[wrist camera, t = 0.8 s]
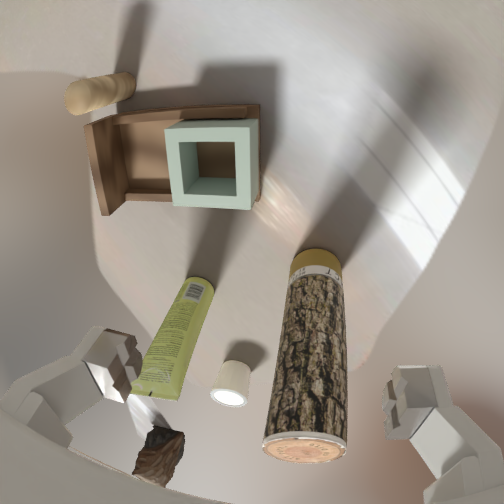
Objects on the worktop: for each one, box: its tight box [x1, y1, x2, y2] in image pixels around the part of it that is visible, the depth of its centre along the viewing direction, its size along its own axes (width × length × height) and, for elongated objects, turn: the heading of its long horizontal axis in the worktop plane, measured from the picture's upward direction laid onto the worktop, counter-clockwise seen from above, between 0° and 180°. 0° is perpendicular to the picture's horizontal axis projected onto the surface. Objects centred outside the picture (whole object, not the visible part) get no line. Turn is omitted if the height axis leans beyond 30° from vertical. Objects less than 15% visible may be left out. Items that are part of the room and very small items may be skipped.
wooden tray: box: [84, 104, 260, 216], centre depth 33 cm, size 11×18×6 cm, turn 91°
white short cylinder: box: [210, 360, 251, 407], centre depth 55 cm, size 7×7×7 cm
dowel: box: [64, 72, 136, 115], centre depth 28 cm, size 4×4×9 cm
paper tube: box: [262, 249, 348, 464], centre depth 31 cm, size 7×7×25 cm
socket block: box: [164, 118, 259, 210], centre depth 32 cm, size 8×8×5 cm
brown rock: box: [132, 426, 185, 488], centre depth 81 cm, size 13×13×20 cm
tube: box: [130, 277, 214, 401], centre depth 39 cm, size 6×5×20 cm
